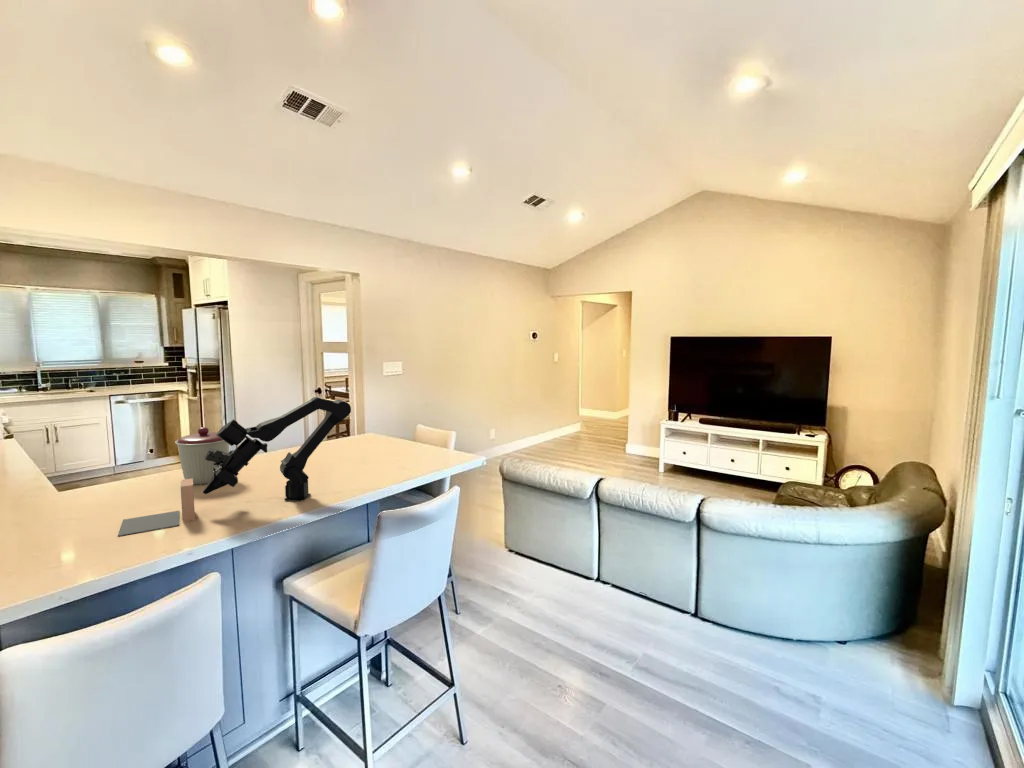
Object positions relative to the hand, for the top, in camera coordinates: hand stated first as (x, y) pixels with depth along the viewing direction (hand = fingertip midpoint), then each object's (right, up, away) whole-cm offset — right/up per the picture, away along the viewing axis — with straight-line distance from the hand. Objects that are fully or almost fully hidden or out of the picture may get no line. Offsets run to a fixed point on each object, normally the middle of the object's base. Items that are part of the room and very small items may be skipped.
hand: (204, 493), depth 148 cm
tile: (-4, -7, -2) cm, 8 cm away
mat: (-11, -7, -7) cm, 15 cm away
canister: (-22, -3, +35) cm, 41 cm away
